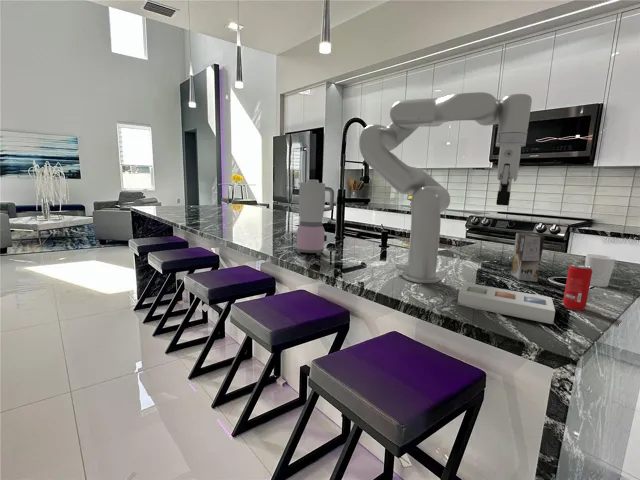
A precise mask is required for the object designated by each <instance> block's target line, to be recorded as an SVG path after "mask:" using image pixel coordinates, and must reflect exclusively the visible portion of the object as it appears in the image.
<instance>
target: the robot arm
mask: <svg viewBox="0 0 640 480" xmlns="http://www.w3.org/2000/svg"><path fill="white" fill-rule="evenodd" d="M532 99H533V98H532V96H530V95H529V94H527V93H526V94H525V93H513V94H508V95H506V96H505V97H503V98H502V99H497V98H496V97H495V96H494V95H492V93H488V92H484V91H483V92H482V91H481V92H480V91H479V92H477V91H476V92H463V93H462V92H461V93H454V94H453V93H452V94H451V95H450V94H449V95H446V96H445V95H444V96H441V97H433V98H417V99H416V98H414V99H403V100H402V99H401V100H398V101H397V102H394V104H393V105H392V106H391V107H390V111H389V116H390V117H389V118H390V120H391V123H389V125H388V126H384V125H382V124H377V123H376V124H375V123H373V124H369V125H367V126H366V127H364V128H363V129H362V131H361V133H360V136H359V143H358V145H359V150H360V153H361V154H360V155H361V156H362V159H364V162H365V163H366V164H367V165H368V166H369V167H370V168H371V169H372V170H373V171H375V172H376V173H377V174H378V175H379V177H381V178H382V179H383V180H385V182H386V183H388V184H389V185H390V187H392V188H393V189H394V190H395V191H396V192H398V193H399V194H403V195H410V196H411V201H410V214H411V215H410V216H411V217H410V231H409V233H410V235H409V243H408V244H409V245H408V254H407V255H408V256H407V262H406V263H400V262H396V263H395V268H396V270H399V271H403V272H402V273H401V277H402V278H403V280H407V281H410V282H414V283H419V284H436V283H439V282H440V280H441V277H440V276H439V274H436V273H437V263H438V257H439V256H438V254H439V247H440V246H439V245H440V235H441V223H442V222H441V220H442V219H441V213H443V212H445V211H446V210H447V209H448V208H449V206H450V204H451V196H450V193H449V191H448V190H447V189H446V188H445V187H444V186H443V185H441V184H440V183H439V182H438V181H436V180H435V179H434V178H433V177H432V176H431V175H429V174H428V173H427V172H426V171H424V170H422V169H420V168H419V167H415V166H409V165H408V164H406V163H405V162H404V161H402V160H401V159H400V158H399V157H398V156H397V155H395V154H394V153H393V152H391V151H393V150H394V149H395V148H397V147H399V146H400V145H401V144H402V143H403V142H404V141H406V139H407V138H409V137H410V136H411V135H412V134H413V133H414V132H415V131H416V130H418V128H419V127H422V128H423V127H431V128H433V127H439V126H442V125H443V124H444V123H448V122H456V121H457V122H458V121H474V122H476V123H477V124H479V125H481V126H487V127H488V126H493V125H497V126H498V128H497V134H496V141H495V147H497V148H499V154H498V163H497V180H498V181H499V186H498V191H497V195H496V196H497V197H496V202H495V203H496V206H507V207H508V206H509V204H510V197H511V185H512V180H513V181H514V182H516V181H517V180H518V175H519V168H520V161H521V152H522V151H521V150H522V148H524V147H526V143H527V136H528V130H529V123H530V117H531V116H530V115H531V109H532V101H533V100H532Z"/></svg>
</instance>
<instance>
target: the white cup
mask: <svg viewBox="0 0 640 480" xmlns="http://www.w3.org/2000/svg"><path fill="white" fill-rule="evenodd" d="M615 262H616V258H615V257H611V256H608V255H601V254H591V253H590V254H586V255H585V263H584V265H586V266H590V267H592V276H591V281H590V286H592V287H597V288H608V286H609V283H610V279H611V277H612V273H613V270H614V265H615Z"/></svg>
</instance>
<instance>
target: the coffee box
mask: <svg viewBox="0 0 640 480" xmlns="http://www.w3.org/2000/svg"><path fill="white" fill-rule="evenodd" d="M515 233H516V234H515V239H514V247H513V253H512V263H511V269H510V275H511V276H513V277H514V278H516V279H518V281H527V282H535V283H536V282H538V279H539V273H540V268H541V262H542V254H543V249H544V243H545V242H544V241H545V236H542V235H539V234H536V233H531V232H530V233H529V232H515Z"/></svg>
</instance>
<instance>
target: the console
mask: <svg viewBox="0 0 640 480" xmlns="http://www.w3.org/2000/svg"><path fill="white" fill-rule="evenodd" d="M470 287H478V288H482V289H484V290H485V294H481V293H476V292H471V291H469V288H470ZM497 292H507V293H510V294H513V299H509V298H503V297H498V296H497ZM457 296H458V297H457V304H456V305H457V306H463V307H466V308H472V309H476V310H481V311H486V312H491V313H495V314H501V315H506V316H510V317H515V318H520V319H524V320H530V321H534V322H535V321H536V322H540V323H545V324H548V325H549V324H550V325H553V324H554V323H555V322H554V321H555V320H554V319H555V314H556V307H555V306H554V302H553V299H552V297H550V296H544V295H540V294H539V295H538V294H533V293H528V292H522V291H516V290H509V289H504V288H498V287H493V286H487V285H481V284H476V283H469V282H464V283H463V285H462V286H461V288H460V289H459V291H458V295H457ZM527 297H535V298H539V299H542V300H544V305H542V304H536V303H531V302H526V298H527Z"/></svg>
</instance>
